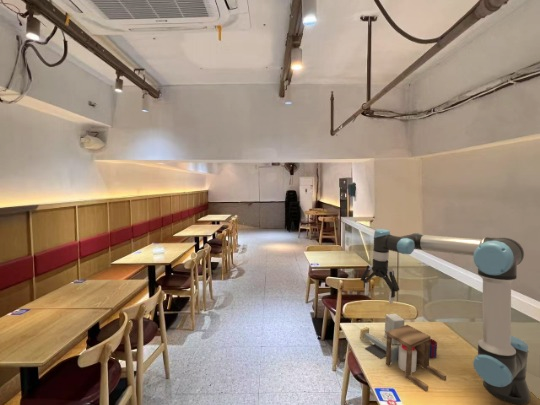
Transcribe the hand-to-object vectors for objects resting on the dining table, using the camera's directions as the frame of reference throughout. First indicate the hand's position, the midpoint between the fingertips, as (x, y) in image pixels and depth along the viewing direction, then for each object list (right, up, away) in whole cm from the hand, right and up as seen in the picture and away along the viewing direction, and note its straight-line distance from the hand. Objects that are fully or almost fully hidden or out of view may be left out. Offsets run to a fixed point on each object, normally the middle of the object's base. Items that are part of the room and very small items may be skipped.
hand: (378, 298), depth 155 cm
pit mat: (0, -25, -4) cm, 25 cm away
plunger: (-1, -25, -3) cm, 25 cm away
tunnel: (+9, -27, -20) cm, 35 cm away
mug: (+21, -26, -7) cm, 34 cm away
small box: (+11, -25, +6) cm, 27 cm away
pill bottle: (+7, -27, -17) cm, 32 cm away
